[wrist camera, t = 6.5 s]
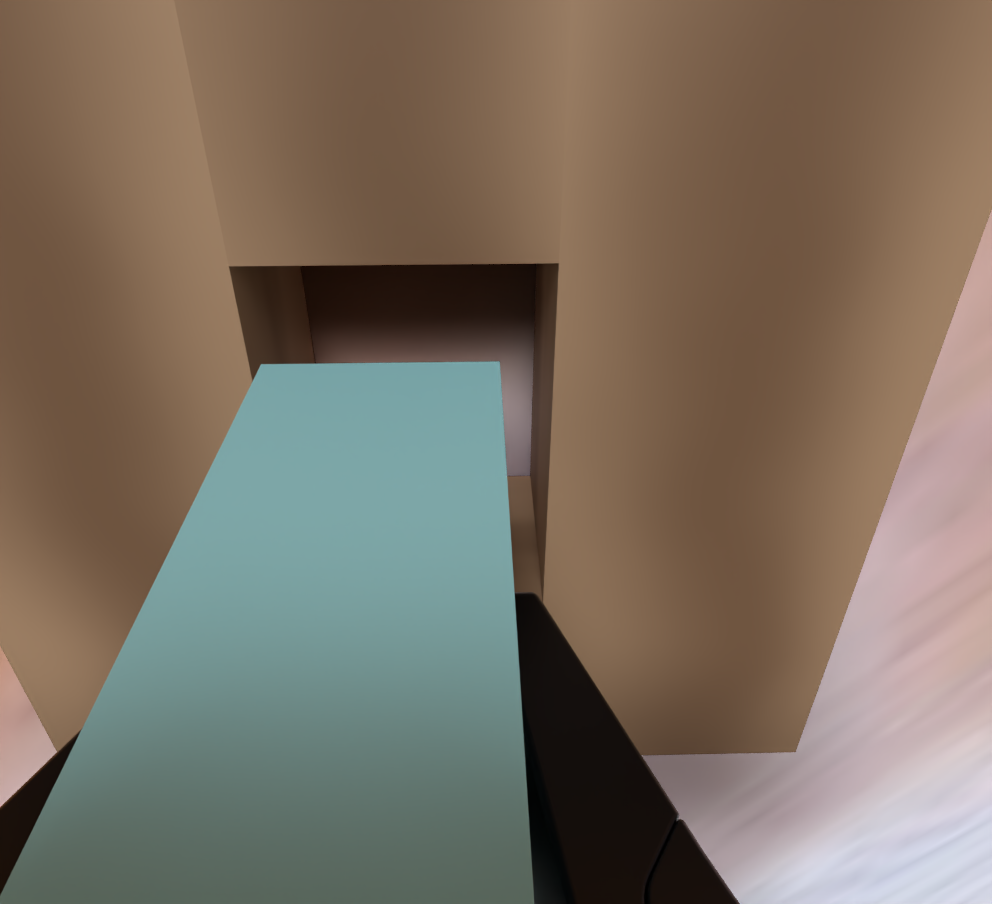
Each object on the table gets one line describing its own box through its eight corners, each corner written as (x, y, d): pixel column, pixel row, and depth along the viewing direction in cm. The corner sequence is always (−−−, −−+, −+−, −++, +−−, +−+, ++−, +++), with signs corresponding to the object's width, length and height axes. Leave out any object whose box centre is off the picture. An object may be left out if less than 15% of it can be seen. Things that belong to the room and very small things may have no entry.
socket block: (133, 628, 20) (65, 767, 17) (-167, -151, 11) (-446, -188, 8) (742, 618, 20) (795, 751, 17) (939, -150, 11) (1134, -186, 8)
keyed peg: (314, 638, 12) (132, 1446, 6) (261, 364, 10) (-212, 1327, 3) (499, 635, 12) (528, 1429, 6) (499, 361, 10) (559, 1297, 3)
